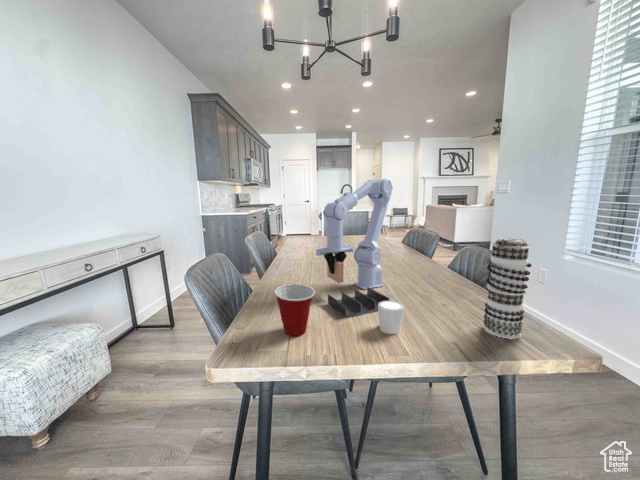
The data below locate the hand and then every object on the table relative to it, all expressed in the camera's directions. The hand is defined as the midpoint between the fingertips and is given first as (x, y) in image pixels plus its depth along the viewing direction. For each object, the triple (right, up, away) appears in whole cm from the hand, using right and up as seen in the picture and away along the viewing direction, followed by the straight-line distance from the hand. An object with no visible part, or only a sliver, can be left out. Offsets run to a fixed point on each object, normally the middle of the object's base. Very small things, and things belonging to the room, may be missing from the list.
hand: (335, 272), depth 95 cm
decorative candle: (+43, -13, -26) cm, 52 cm away
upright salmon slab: (0, -2, 0) cm, 2 cm away
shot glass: (+14, -13, -24) cm, 30 cm away
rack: (+7, -10, -8) cm, 15 cm away
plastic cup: (-12, -13, -24) cm, 30 cm away
